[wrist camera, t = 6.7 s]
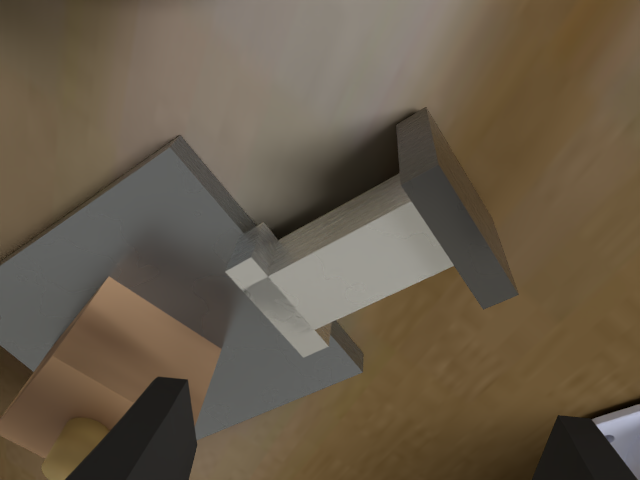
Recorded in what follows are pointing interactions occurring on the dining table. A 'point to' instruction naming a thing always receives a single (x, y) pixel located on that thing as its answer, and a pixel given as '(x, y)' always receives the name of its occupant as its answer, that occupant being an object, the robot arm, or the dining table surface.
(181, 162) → the grey square baseplate
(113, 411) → the block
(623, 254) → the dining table surface
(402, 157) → the square end dumbbell
